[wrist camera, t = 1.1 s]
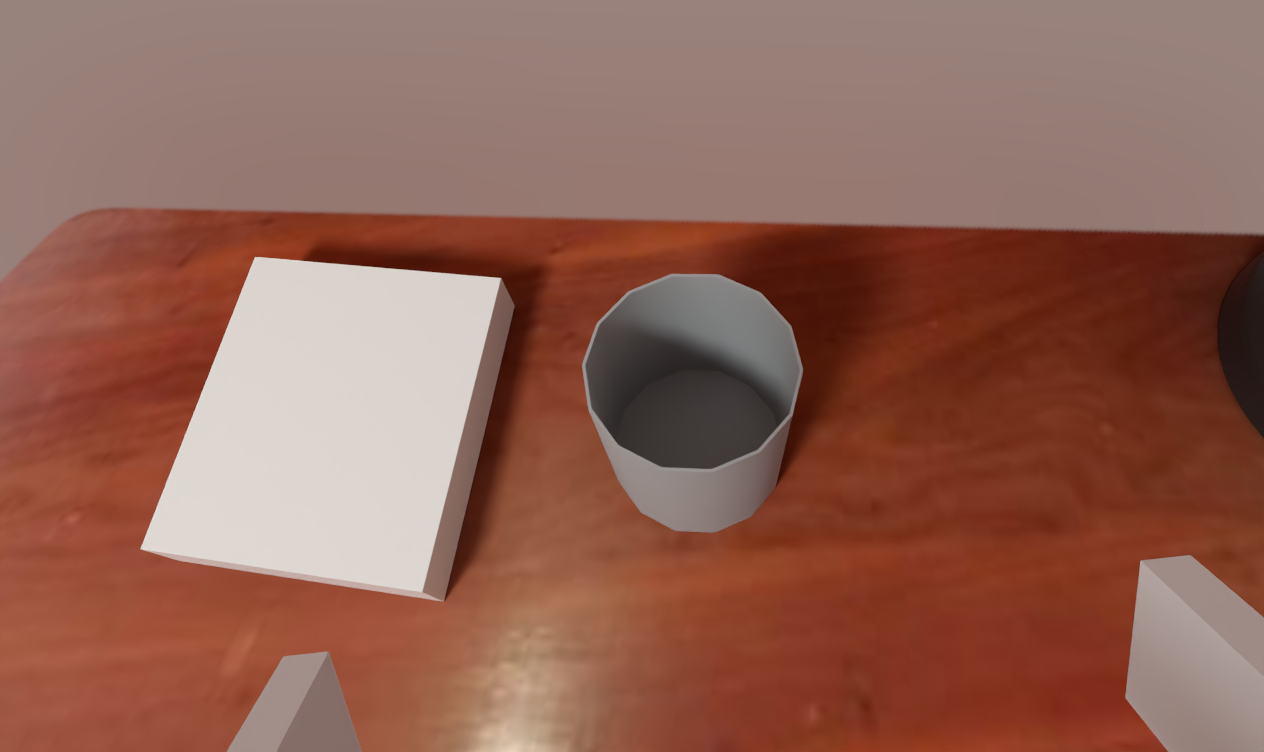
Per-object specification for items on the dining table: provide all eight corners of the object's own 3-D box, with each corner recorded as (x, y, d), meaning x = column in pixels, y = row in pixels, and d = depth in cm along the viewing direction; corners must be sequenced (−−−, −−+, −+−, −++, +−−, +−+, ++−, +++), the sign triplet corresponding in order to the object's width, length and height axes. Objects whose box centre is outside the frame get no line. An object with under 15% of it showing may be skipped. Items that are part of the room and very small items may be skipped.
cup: (817, 467, 38) (848, 389, 29) (680, 568, 37) (667, 518, 28) (712, 343, 42) (710, 237, 32) (583, 431, 40) (543, 347, 31)
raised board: (514, 305, 44) (500, 278, 41) (444, 601, 38) (422, 592, 35) (282, 284, 46) (255, 257, 43) (180, 560, 40) (140, 549, 37)
